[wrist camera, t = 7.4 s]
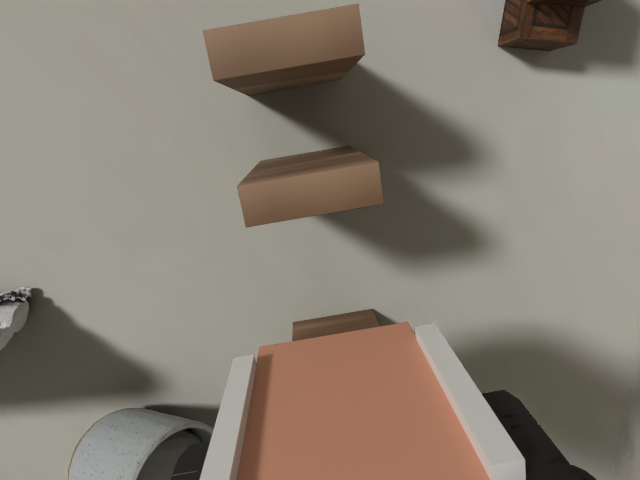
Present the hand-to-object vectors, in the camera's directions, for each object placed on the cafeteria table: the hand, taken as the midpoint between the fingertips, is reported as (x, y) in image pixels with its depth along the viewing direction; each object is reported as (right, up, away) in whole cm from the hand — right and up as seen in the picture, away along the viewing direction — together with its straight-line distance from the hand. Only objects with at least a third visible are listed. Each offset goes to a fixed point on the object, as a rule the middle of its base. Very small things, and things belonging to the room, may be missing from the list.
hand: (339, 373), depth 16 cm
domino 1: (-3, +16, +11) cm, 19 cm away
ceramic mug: (-12, -11, +18) cm, 25 cm away
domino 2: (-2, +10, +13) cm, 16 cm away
